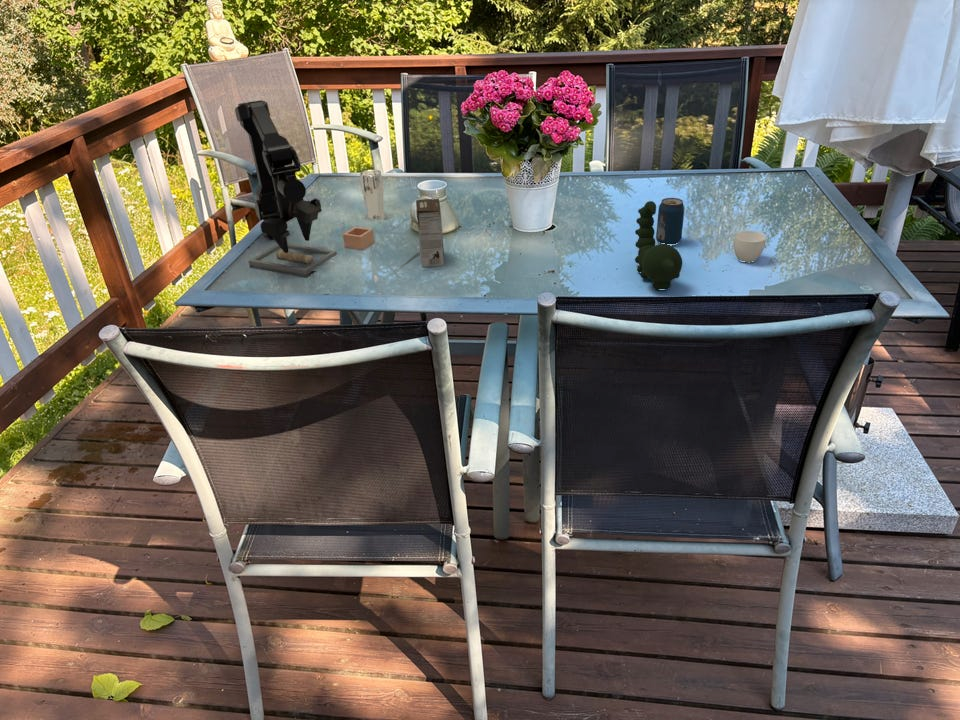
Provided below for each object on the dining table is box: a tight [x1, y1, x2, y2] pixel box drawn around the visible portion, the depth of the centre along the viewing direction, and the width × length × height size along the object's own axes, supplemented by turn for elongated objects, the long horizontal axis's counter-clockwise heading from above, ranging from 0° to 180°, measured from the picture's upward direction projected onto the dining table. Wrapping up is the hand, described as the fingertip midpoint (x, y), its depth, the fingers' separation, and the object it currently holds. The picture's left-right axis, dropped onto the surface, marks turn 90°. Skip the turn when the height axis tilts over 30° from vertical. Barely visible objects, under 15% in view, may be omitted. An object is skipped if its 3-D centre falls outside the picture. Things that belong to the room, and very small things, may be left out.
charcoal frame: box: [247, 242, 338, 278], centre depth 198 cm, size 20×14×2 cm
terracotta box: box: [342, 226, 375, 251], centre depth 204 cm, size 6×6×5 cm
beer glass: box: [359, 169, 387, 221], centre depth 222 cm, size 7×7×15 cm
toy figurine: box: [634, 200, 683, 290], centre depth 174 cm, size 9×19×25 cm
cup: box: [733, 230, 767, 262], centre depth 185 cm, size 8×10×7 cm
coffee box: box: [415, 198, 445, 268], centre depth 191 cm, size 9×6×16 cm
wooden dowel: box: [275, 249, 314, 265], centre depth 197 cm, size 6×2×11 cm
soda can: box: [655, 197, 685, 244], centre depth 195 cm, size 7×7×12 cm
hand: (297, 246), depth 195 cm, fingers open, 9 cm apart
